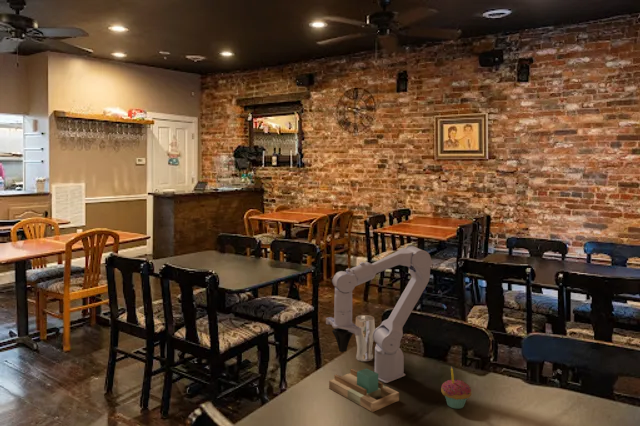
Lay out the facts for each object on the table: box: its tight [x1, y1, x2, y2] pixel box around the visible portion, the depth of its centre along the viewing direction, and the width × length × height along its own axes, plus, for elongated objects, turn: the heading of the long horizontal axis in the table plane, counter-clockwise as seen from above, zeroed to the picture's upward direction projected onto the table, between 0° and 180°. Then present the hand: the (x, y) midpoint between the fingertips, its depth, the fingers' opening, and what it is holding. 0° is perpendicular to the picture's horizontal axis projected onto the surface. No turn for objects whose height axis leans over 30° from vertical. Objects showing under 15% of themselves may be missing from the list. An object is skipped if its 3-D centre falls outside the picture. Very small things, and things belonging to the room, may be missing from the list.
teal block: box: [357, 368, 379, 394], centre depth 153 cm, size 4×5×5 cm
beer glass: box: [354, 314, 376, 363], centre depth 181 cm, size 7×7×15 cm
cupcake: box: [440, 366, 472, 410], centre depth 148 cm, size 9×8×12 cm
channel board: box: [328, 368, 400, 413], centre depth 154 cm, size 11×19×4 cm, turn 39°
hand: (342, 351), depth 163 cm, fingers closed
